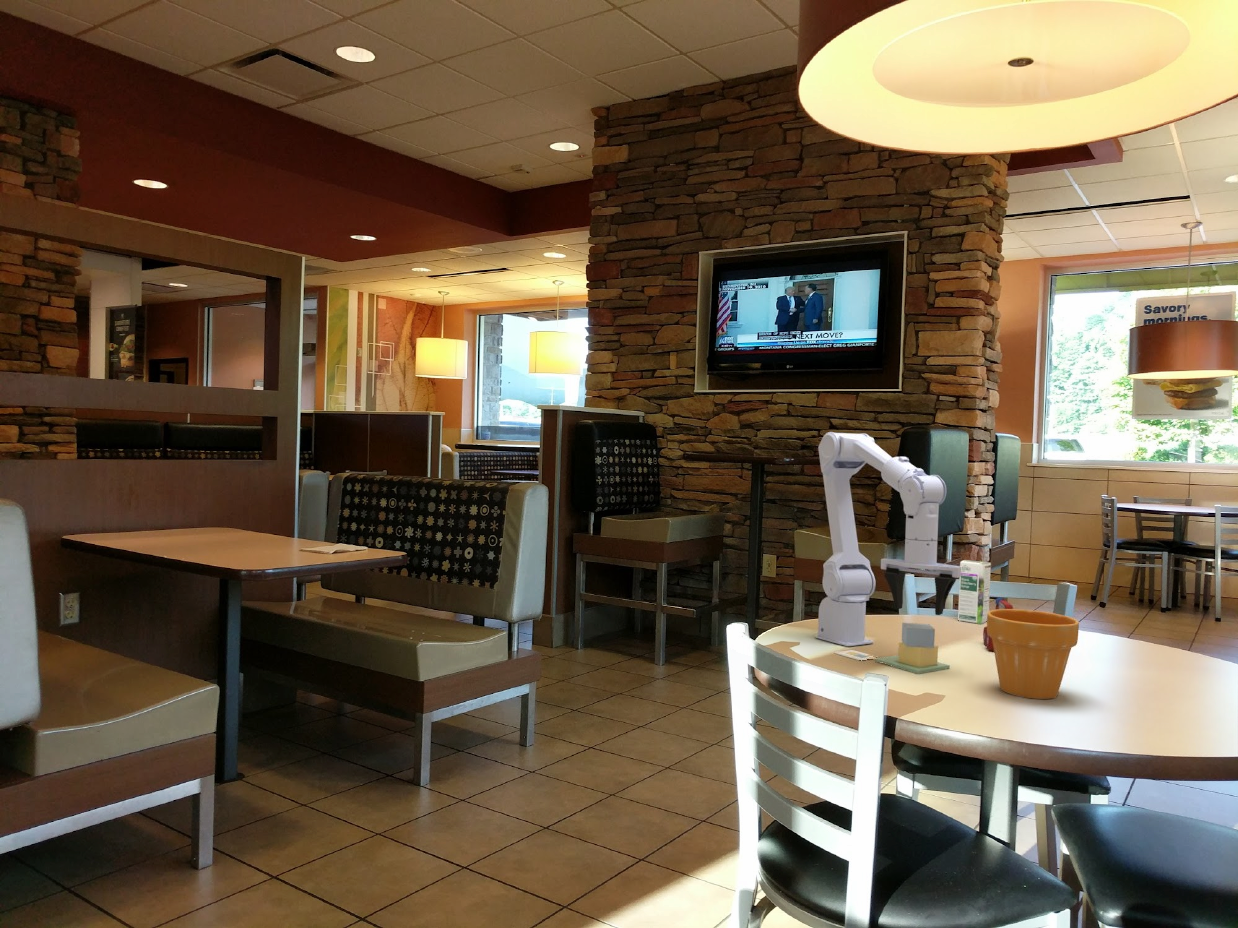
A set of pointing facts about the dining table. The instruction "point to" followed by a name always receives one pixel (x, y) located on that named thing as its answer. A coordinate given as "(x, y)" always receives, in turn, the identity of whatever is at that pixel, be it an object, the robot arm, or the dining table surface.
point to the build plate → (894, 662)
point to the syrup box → (974, 591)
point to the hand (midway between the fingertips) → (918, 611)
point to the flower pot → (1031, 650)
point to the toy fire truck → (986, 638)
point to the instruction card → (854, 654)
